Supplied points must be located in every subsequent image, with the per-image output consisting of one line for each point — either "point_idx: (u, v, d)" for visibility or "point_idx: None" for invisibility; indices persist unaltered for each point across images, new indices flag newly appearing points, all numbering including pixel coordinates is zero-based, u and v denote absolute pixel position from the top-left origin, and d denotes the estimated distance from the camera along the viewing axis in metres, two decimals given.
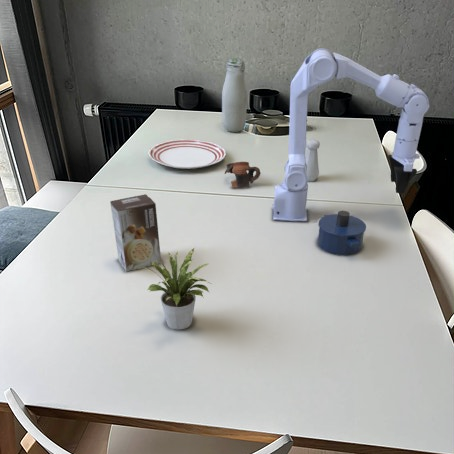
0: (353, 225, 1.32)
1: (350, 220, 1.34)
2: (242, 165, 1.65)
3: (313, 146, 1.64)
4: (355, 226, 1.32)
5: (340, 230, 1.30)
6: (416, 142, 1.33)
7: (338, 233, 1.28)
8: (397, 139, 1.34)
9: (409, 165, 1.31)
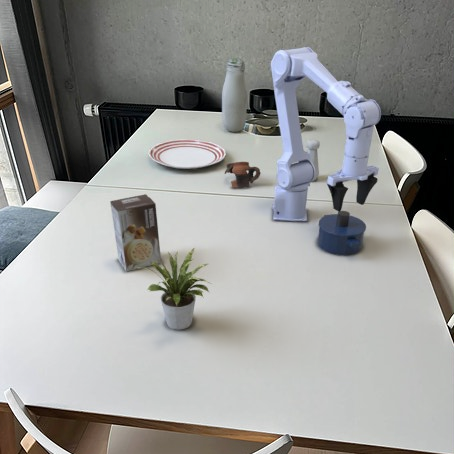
0: (353, 225, 1.32)
1: (350, 220, 1.34)
2: (242, 165, 1.65)
3: (313, 146, 1.64)
4: (355, 226, 1.32)
5: (340, 230, 1.30)
6: (355, 160, 1.21)
7: (338, 233, 1.28)
8: None
9: (330, 178, 1.23)
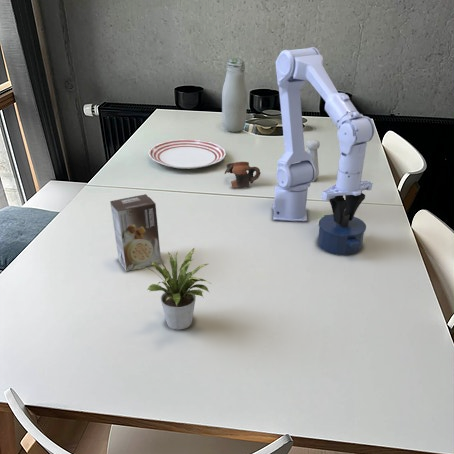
0: (353, 225, 1.32)
1: None
2: (242, 165, 1.65)
3: (313, 146, 1.64)
4: (355, 226, 1.32)
5: (340, 230, 1.30)
6: (349, 175, 1.22)
7: (338, 233, 1.28)
8: None
9: (324, 194, 1.24)
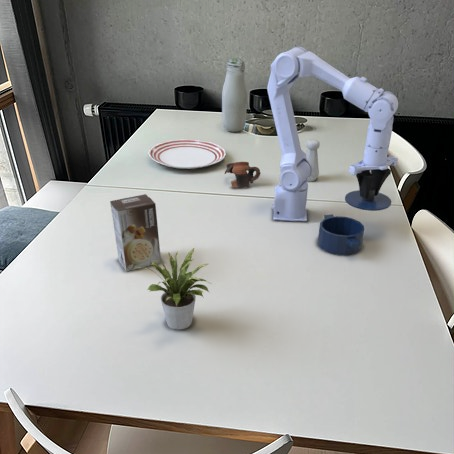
0: (379, 200, 1.36)
1: None
2: (242, 165, 1.65)
3: (313, 146, 1.64)
4: (381, 201, 1.36)
5: (366, 204, 1.34)
6: (376, 150, 1.27)
7: (365, 207, 1.33)
8: None
9: (352, 168, 1.28)
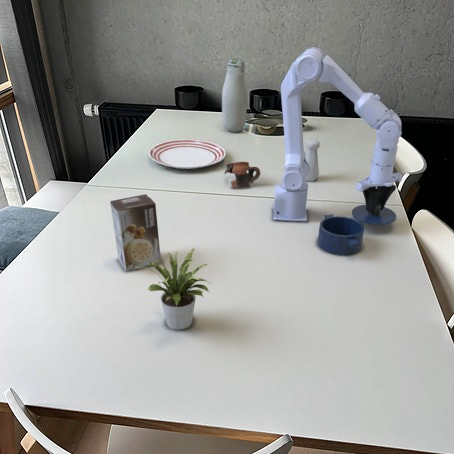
0: (384, 214, 1.42)
1: (381, 210, 1.45)
2: (242, 165, 1.65)
3: (313, 146, 1.64)
4: (386, 215, 1.42)
5: (373, 219, 1.40)
6: (382, 168, 1.33)
7: (371, 221, 1.39)
8: None
9: (359, 185, 1.34)
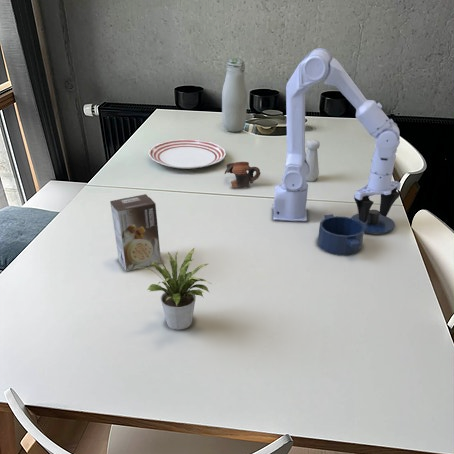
0: (382, 223, 1.44)
1: (379, 218, 1.46)
2: (242, 165, 1.65)
3: (313, 146, 1.64)
4: (384, 223, 1.43)
5: (371, 227, 1.42)
6: (381, 176, 1.34)
7: (369, 230, 1.40)
8: None
9: (357, 193, 1.36)
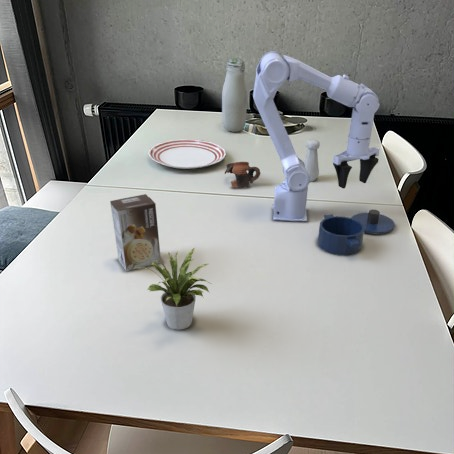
0: (382, 223, 1.44)
1: (379, 218, 1.46)
2: (242, 165, 1.65)
3: (313, 146, 1.64)
4: (384, 223, 1.43)
5: (371, 227, 1.42)
6: (358, 141, 1.36)
7: (369, 230, 1.40)
8: None
9: (336, 158, 1.37)
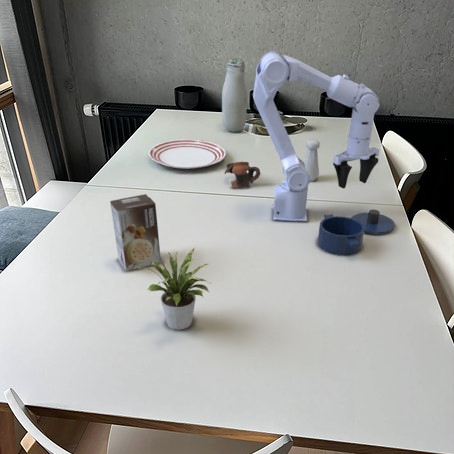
0: (382, 223, 1.44)
1: (379, 218, 1.46)
2: (242, 165, 1.65)
3: (313, 146, 1.64)
4: (384, 223, 1.43)
5: (371, 227, 1.42)
6: (358, 141, 1.36)
7: (369, 230, 1.40)
8: None
9: (336, 158, 1.37)
